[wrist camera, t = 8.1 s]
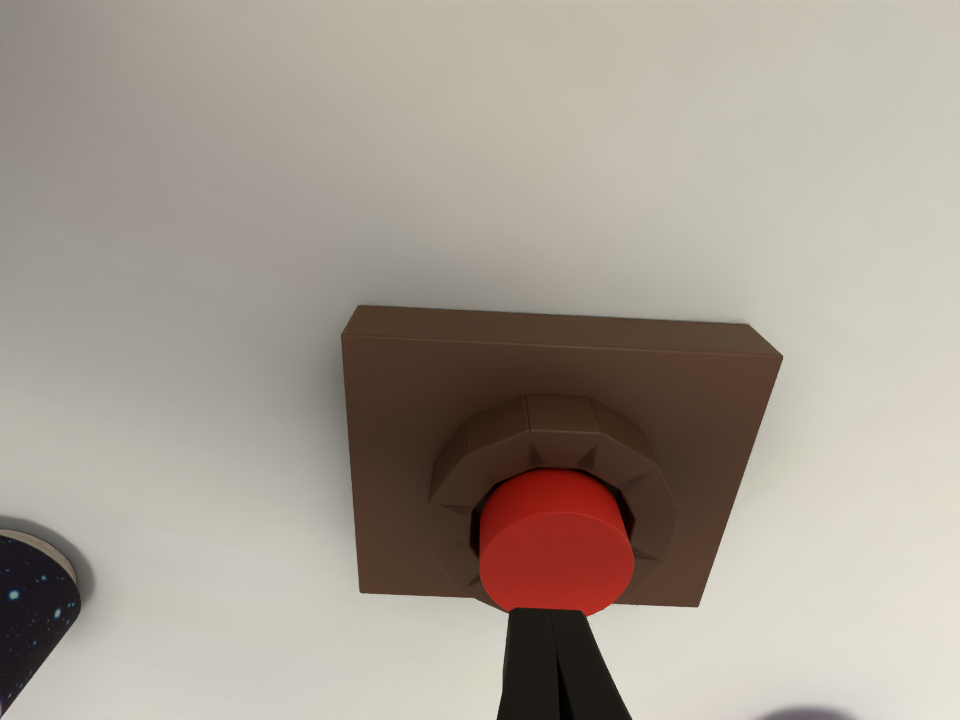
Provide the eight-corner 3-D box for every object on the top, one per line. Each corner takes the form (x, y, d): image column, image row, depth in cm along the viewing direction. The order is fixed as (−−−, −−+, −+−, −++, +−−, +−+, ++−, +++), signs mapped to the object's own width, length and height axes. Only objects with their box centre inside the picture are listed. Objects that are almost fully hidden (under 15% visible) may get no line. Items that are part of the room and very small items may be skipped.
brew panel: (370, 546, 21) (347, 640, 17) (357, 304, 16) (321, 365, 13) (679, 559, 21) (718, 656, 18) (749, 323, 17) (822, 389, 13)
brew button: (476, 569, 16) (475, 620, 15) (483, 463, 15) (483, 509, 13) (607, 574, 16) (620, 626, 15) (631, 470, 15) (648, 516, 13)
